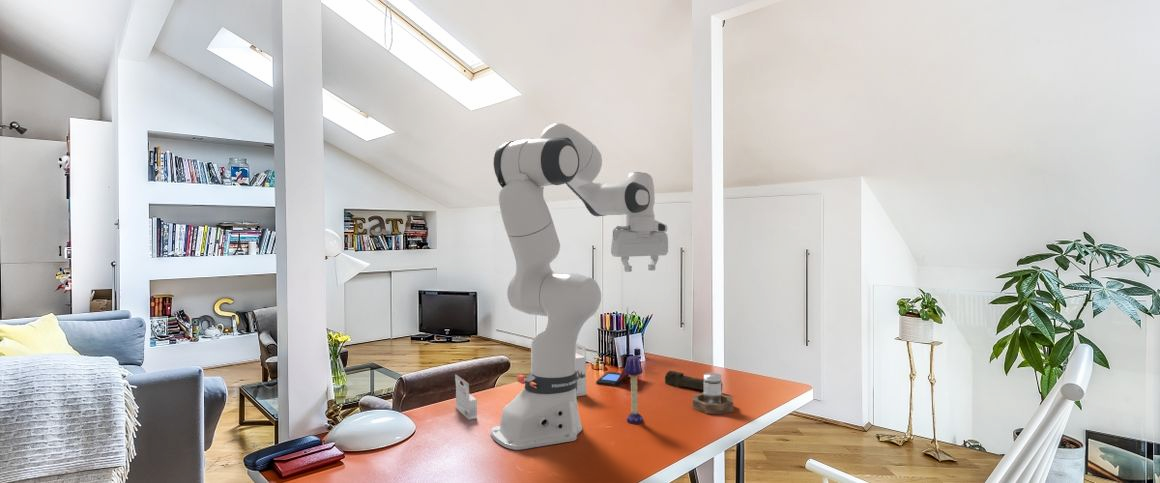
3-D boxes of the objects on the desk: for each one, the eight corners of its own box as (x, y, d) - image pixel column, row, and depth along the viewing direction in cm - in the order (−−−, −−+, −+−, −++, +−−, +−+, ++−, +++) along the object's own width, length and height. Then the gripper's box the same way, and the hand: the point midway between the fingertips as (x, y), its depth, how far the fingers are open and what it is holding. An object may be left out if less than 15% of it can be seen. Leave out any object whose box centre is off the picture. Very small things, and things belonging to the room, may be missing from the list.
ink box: (560, 389, 162) (559, 342, 162) (574, 387, 164) (574, 341, 164) (571, 397, 154) (571, 348, 154) (586, 395, 156) (586, 346, 156)
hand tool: (723, 393, 158) (723, 378, 158) (717, 396, 155) (717, 381, 155) (669, 382, 171) (669, 368, 171) (663, 385, 168) (663, 370, 168)
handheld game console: (608, 375, 179) (608, 353, 179) (638, 378, 175) (638, 356, 175) (594, 384, 168) (594, 362, 168) (626, 388, 164) (626, 365, 163)
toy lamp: (637, 425, 132) (637, 360, 131) (621, 422, 134) (621, 357, 134) (645, 419, 136) (645, 356, 135) (629, 416, 138) (629, 354, 138)
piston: (712, 411, 142) (713, 378, 142) (699, 406, 146) (699, 374, 146) (725, 408, 145) (725, 375, 145) (711, 403, 149) (711, 371, 149)
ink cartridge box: (463, 406, 147) (463, 372, 146) (477, 418, 137) (477, 382, 137) (454, 408, 145) (454, 373, 145) (468, 420, 136) (468, 383, 136)
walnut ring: (713, 416, 138) (713, 407, 138) (684, 405, 147) (684, 397, 147) (740, 409, 144) (741, 400, 144) (711, 398, 153) (711, 390, 153)
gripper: (619, 225, 151) (619, 273, 152) (671, 226, 163) (671, 270, 163) (606, 226, 157) (606, 271, 157) (657, 226, 168) (657, 269, 168)
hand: (640, 271), depth 160 cm, fingers open, 8 cm apart
